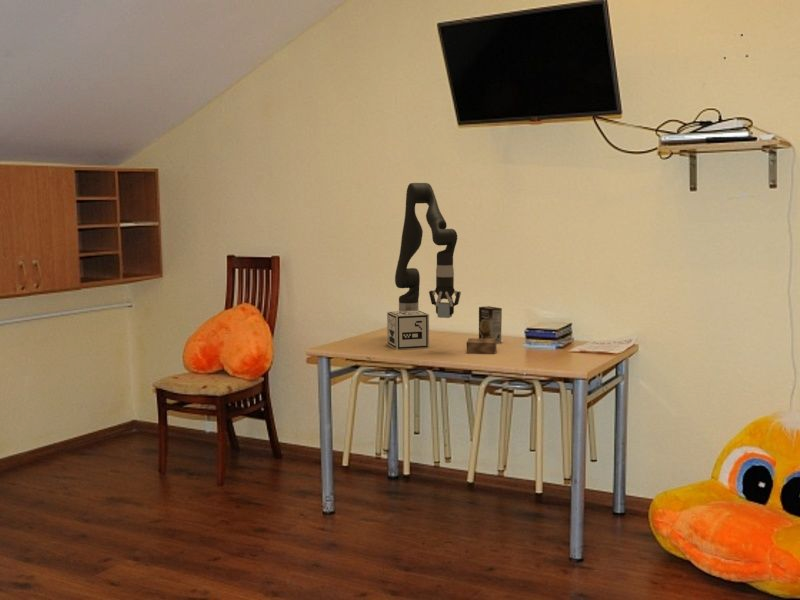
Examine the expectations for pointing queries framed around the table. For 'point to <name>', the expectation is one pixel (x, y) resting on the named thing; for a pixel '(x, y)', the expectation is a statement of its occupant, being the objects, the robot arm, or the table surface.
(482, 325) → the coffee box
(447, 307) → the slate block
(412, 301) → the robot arm
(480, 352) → the walnut block
